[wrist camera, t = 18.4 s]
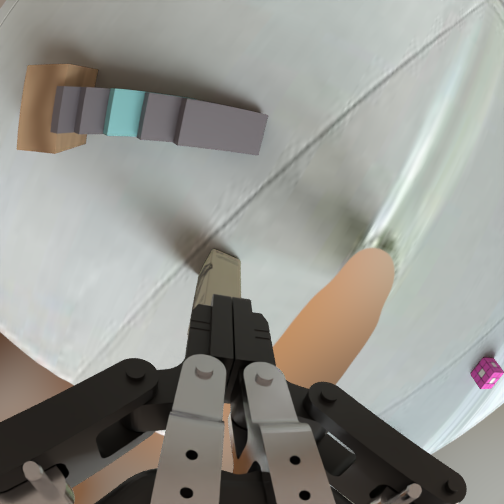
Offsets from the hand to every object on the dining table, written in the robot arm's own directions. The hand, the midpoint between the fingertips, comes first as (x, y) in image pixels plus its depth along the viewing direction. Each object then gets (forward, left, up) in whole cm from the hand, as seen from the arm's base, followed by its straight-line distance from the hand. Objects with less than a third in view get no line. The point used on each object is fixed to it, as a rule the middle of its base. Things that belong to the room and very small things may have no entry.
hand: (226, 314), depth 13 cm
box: (+1, -14, -29) cm, 32 cm away
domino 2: (-11, +5, -28) cm, 31 cm away
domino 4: (-3, +5, -28) cm, 29 cm away
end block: (-23, +5, -29) cm, 37 cm away
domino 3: (-7, +6, -28) cm, 29 cm away
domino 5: (+2, +5, -28) cm, 28 cm away
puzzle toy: (+69, -29, -29) cm, 80 cm away
